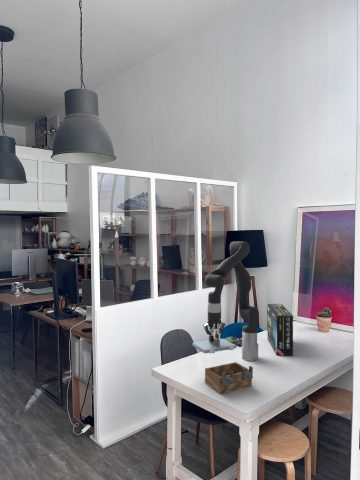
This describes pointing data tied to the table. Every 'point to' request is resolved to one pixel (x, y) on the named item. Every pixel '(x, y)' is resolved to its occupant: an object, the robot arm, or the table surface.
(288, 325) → the router box
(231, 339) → the disk drive
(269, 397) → the table surface
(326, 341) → the table surface
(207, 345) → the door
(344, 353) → the table surface
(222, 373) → the brown wooden open box
